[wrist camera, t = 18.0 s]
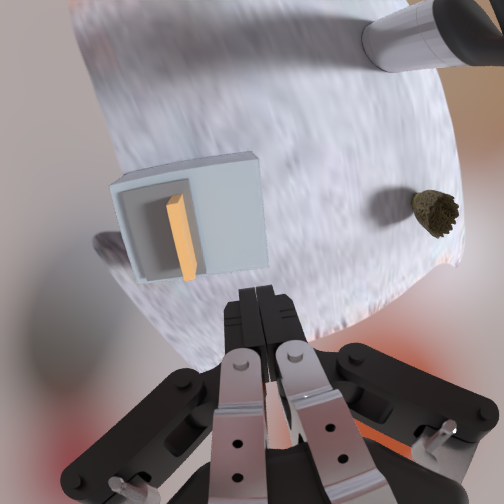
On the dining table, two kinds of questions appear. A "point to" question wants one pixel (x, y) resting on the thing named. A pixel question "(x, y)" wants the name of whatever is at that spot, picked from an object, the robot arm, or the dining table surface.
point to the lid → (165, 230)
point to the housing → (209, 210)
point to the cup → (435, 211)
